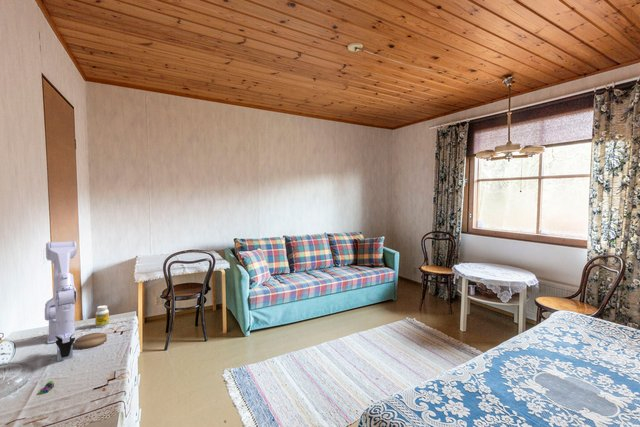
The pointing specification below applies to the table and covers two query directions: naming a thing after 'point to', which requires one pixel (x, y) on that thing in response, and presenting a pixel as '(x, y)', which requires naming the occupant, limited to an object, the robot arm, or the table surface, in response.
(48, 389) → the green pink pointed oval
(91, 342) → the walnut bowl
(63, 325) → the robot arm
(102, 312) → the supplement bottle
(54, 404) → the table surface
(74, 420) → the table surface
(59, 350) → the blue cube
